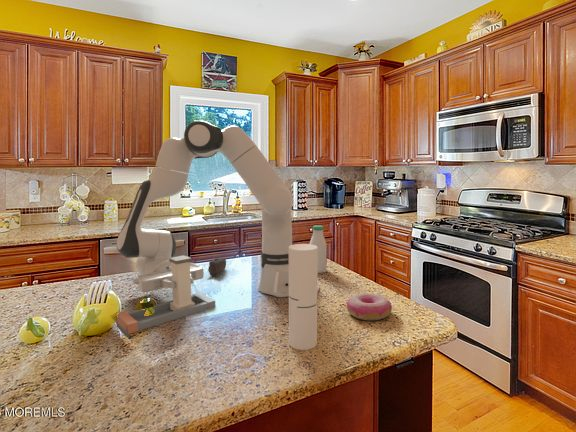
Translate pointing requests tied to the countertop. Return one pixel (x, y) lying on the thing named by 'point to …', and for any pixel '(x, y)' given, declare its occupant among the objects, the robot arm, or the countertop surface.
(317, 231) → the milk bottle
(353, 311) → the donut
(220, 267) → the perforated stone tool
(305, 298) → the cylindrical container
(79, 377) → the countertop surface
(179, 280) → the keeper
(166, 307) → the rail
